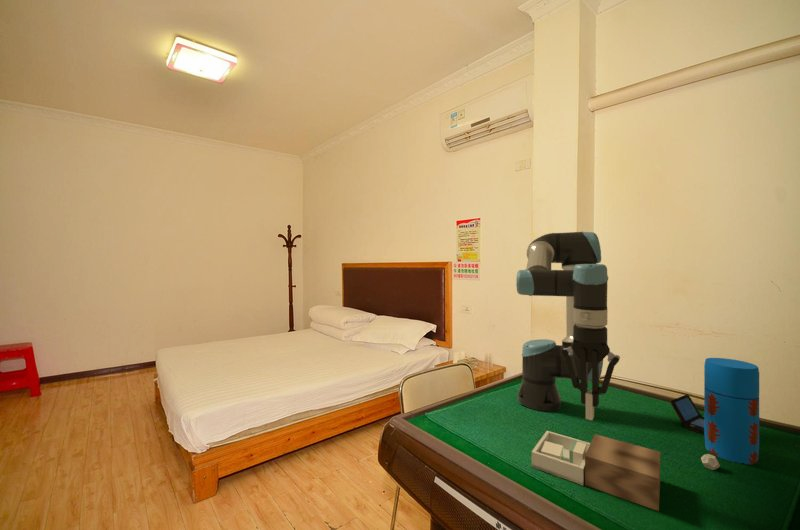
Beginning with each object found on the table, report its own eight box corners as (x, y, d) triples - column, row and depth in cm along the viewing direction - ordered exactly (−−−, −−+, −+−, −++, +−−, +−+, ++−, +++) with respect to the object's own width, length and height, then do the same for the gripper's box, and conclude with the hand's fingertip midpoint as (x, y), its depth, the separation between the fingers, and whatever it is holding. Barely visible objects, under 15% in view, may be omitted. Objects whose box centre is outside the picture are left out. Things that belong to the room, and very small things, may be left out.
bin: (531, 467, 89) (531, 451, 89) (546, 444, 100) (546, 430, 100) (583, 485, 81) (583, 468, 81) (593, 458, 92) (593, 444, 92)
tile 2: (582, 472, 85) (569, 468, 87) (586, 460, 90) (573, 457, 92) (582, 454, 85) (569, 450, 87) (586, 443, 90) (573, 440, 92)
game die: (700, 461, 91) (700, 450, 91) (719, 467, 88) (719, 455, 88) (700, 468, 88) (700, 456, 88) (720, 473, 86) (720, 461, 86)
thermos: (694, 443, 99) (694, 358, 99) (727, 442, 100) (727, 357, 100) (733, 466, 89) (734, 369, 88) (771, 463, 90) (771, 368, 89)
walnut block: (585, 485, 81) (585, 455, 81) (594, 460, 92) (594, 434, 92) (658, 511, 73) (658, 478, 73) (660, 480, 83) (660, 451, 83)
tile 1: (559, 456, 87) (559, 468, 87) (563, 445, 92) (563, 456, 92) (540, 451, 89) (540, 462, 89) (545, 440, 94) (545, 451, 94)
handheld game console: (711, 437, 103) (711, 413, 103) (669, 423, 113) (669, 400, 113) (728, 428, 109) (728, 404, 109) (687, 414, 119) (687, 393, 119)
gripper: (558, 324, 87) (558, 416, 88) (618, 331, 79) (618, 431, 80) (565, 320, 93) (565, 405, 94) (622, 325, 85) (621, 419, 86)
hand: (589, 417), depth 87 cm, fingers closed
